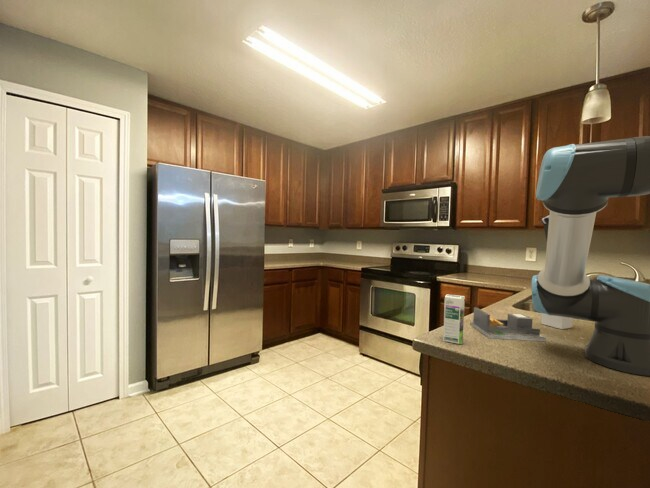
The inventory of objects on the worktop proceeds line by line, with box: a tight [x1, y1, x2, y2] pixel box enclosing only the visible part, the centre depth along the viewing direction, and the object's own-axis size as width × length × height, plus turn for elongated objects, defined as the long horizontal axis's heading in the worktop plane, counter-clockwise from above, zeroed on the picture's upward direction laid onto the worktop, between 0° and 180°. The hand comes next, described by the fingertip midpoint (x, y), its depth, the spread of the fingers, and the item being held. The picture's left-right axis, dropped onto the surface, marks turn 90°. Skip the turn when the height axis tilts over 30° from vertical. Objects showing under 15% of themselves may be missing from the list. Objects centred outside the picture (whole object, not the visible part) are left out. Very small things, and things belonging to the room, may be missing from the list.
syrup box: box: [442, 293, 466, 345], centre depth 94 cm, size 6×6×14 cm
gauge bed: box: [469, 307, 547, 342], centre depth 104 cm, size 15×18×7 cm
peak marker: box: [489, 317, 503, 326], centre depth 102 cm, size 10×2×3 cm, turn 175°
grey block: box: [506, 313, 533, 328], centre depth 103 cm, size 6×5×5 cm
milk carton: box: [541, 313, 574, 330], centre depth 113 cm, size 7×7×19 cm
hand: (559, 265), depth 103 cm, fingers closed
